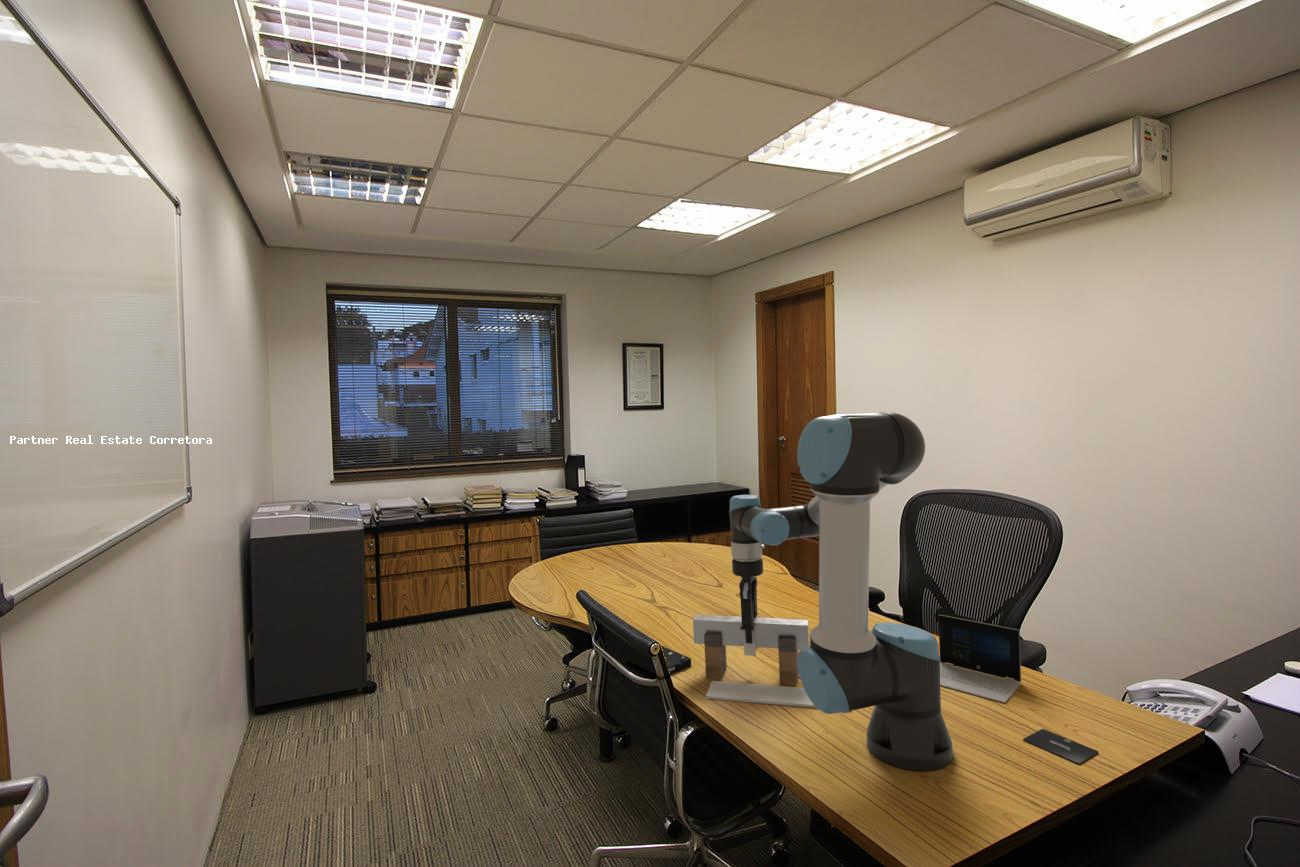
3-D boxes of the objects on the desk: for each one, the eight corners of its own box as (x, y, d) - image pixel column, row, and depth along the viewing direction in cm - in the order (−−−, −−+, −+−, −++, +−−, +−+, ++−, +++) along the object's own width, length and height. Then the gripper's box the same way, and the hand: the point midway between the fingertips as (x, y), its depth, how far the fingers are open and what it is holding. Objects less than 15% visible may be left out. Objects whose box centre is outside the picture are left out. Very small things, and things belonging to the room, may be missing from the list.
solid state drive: (1042, 731, 121) (1042, 728, 121) (1099, 755, 113) (1099, 751, 113) (1022, 742, 118) (1022, 738, 118) (1079, 767, 109) (1079, 763, 109)
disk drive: (692, 668, 160) (656, 652, 171) (692, 657, 160) (655, 642, 171) (662, 681, 153) (626, 663, 165) (661, 670, 153) (626, 652, 165)
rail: (808, 650, 146) (807, 625, 146) (694, 643, 154) (692, 619, 154) (809, 644, 150) (808, 619, 150) (697, 637, 158) (696, 614, 158)
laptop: (920, 682, 145) (918, 628, 144) (940, 665, 154) (938, 613, 153) (1005, 705, 132) (1003, 646, 132) (1021, 685, 141) (1020, 629, 141)
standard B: (722, 679, 151) (720, 635, 150) (706, 678, 152) (704, 634, 152) (726, 667, 158) (724, 625, 157) (711, 666, 159) (709, 624, 158)
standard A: (797, 685, 146) (795, 639, 145) (779, 683, 147) (777, 638, 146) (798, 672, 153) (796, 628, 152) (782, 671, 154) (780, 628, 153)
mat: (851, 711, 132) (851, 708, 132) (705, 698, 141) (705, 695, 141) (850, 694, 140) (850, 691, 140) (712, 683, 149) (712, 680, 149)
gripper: (758, 567, 142) (763, 666, 143) (765, 550, 158) (769, 639, 159) (726, 566, 144) (730, 664, 145) (737, 549, 160) (740, 637, 161)
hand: (751, 651), depth 152 cm, fingers closed on rail, 4 cm apart
